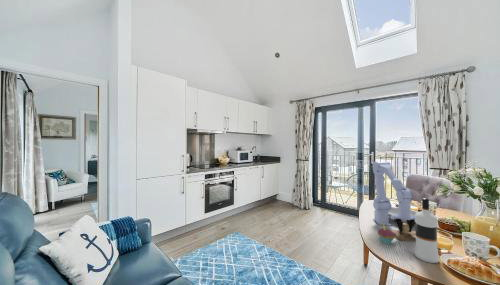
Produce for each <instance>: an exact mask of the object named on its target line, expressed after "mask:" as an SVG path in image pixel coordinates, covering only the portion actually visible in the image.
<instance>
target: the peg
mask: <svg viewBox="0 0 500 285" xmlns="http://www.w3.org/2000/svg"><path fill="white" fill-rule="evenodd" d="M401 233H402V235H403V236H409V224H407V223H403V225H402V232H401Z"/></svg>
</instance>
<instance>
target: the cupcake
mask: <svg viewBox="0 0 500 285" xmlns="http://www.w3.org/2000/svg"><path fill="white" fill-rule="evenodd" d="M382 226H383V228H379V229H378V230H377V235H378V236H379V238H380V240H381V242H382V243H384V244H387V245H391V244H392V242H393V240H394V239H396V237H395V234H394V233H393V232H392V231H391V230H392V229H387V228H386V227H385V226H386V225H384V222H383V225H382Z"/></svg>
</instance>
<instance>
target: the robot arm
mask: <svg viewBox="0 0 500 285" xmlns="http://www.w3.org/2000/svg"><path fill="white" fill-rule="evenodd" d="M371 166H372V171H373V174H374V182H375V190H376V197H374V198H373V202H372V204H373V205H372V206H373V209H374V211H373V212H374V218H372V220H373V221H374V222H375V221H376V222H375V223H377V225H380V226H383V222H384V225H385V226H392V224H391V223H390V221H389V219H391V220H393V221H395V223H396V226H397V227H398V229H397V230H399V231H400V232H402V225H403V222H402V220H407V223H406V224H409V232H411V231H413V228H414V226H415V221H414V220H415V216H411V210H412V208H411V199H413V198H414V193H413V192H412V190H411V189H409V188H408V187H406V186H405V184H404V183H403V182H402V180H401V179H399V178H398V177H397V176H396V175H395V173H394V171H393V165H392V164H391V162H390V161H374V162H373V163H372V165H371ZM384 174H385V175H386V176H387V178H388V179H389V180H390V185H391V186H392V187H393V189H394V190H395V196H396V198H397V202H398V207H399V215H391V218H390V217H389V215H388V212H389V211H390V210H391V208H392V207H393V206H392V204H391V200H390V199H389V198H388V197H387V195H386V187H385V180H384V179H385V178H384Z"/></svg>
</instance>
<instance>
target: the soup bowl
mask: <svg viewBox="0 0 500 285" xmlns="http://www.w3.org/2000/svg"><path fill="white" fill-rule="evenodd" d="M418 212H419V211H417V210H413V209H411V216H415V214H416V213H418ZM388 215H389V219H391V215H399V206H397V207H396V206H392V208H391V210H390V211H389V212H388ZM414 221H415V220H414ZM402 222H403V223H406V224H407V220H402Z"/></svg>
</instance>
